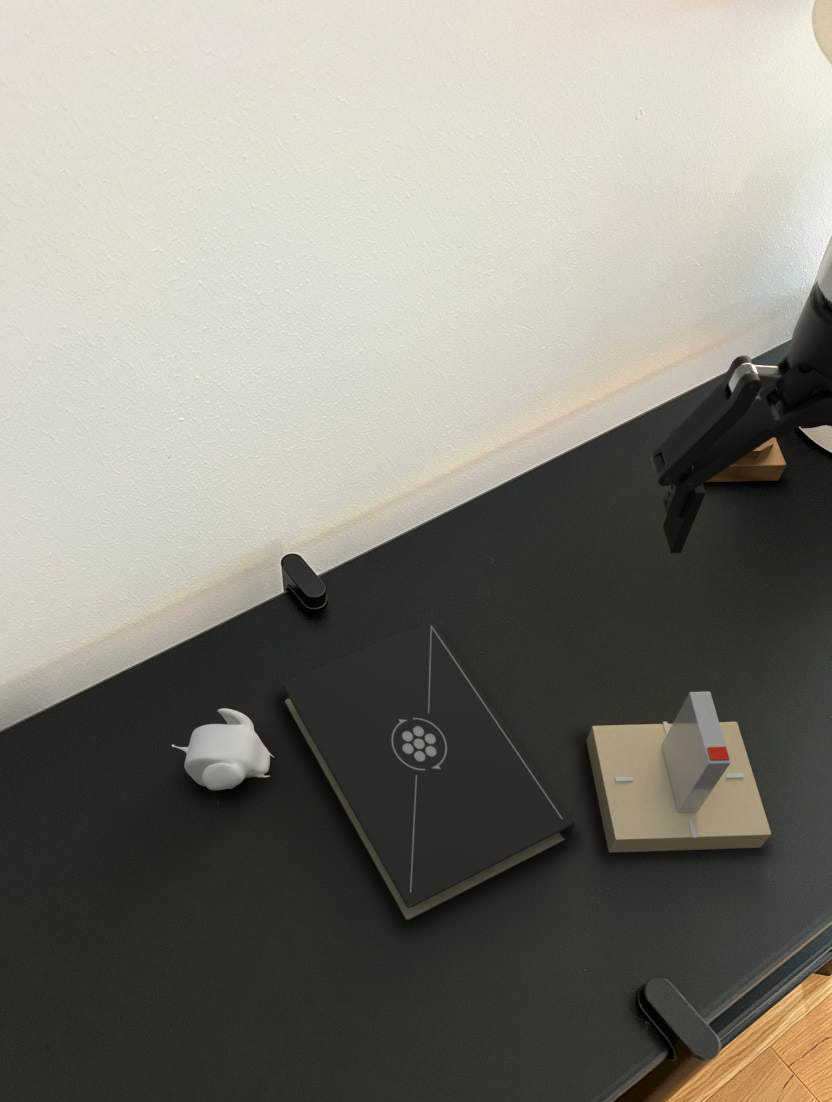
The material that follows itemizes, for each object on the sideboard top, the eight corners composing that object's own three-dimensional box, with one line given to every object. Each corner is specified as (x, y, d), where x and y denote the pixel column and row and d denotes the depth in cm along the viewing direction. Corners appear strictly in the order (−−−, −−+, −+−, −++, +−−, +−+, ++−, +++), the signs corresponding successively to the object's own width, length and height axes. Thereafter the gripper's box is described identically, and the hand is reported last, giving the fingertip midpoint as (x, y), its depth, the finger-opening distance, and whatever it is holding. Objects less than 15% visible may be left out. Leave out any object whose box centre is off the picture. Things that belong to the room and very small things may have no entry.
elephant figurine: (267, 815, 78) (262, 781, 73) (169, 805, 79) (157, 770, 74) (281, 742, 82) (277, 704, 77) (186, 732, 83) (177, 694, 78)
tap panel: (727, 735, 83) (737, 719, 80) (761, 849, 77) (773, 834, 75) (585, 739, 82) (592, 723, 80) (608, 854, 76) (616, 840, 74)
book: (571, 837, 77) (578, 821, 75) (406, 922, 73) (408, 908, 71) (433, 638, 88) (435, 618, 86) (283, 702, 84) (281, 683, 82)
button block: (759, 433, 104) (773, 403, 101) (778, 480, 100) (793, 451, 97) (685, 434, 104) (696, 405, 101) (701, 482, 100) (713, 453, 97)
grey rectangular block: (660, 744, 79) (690, 689, 72) (680, 744, 79) (711, 689, 73) (677, 812, 76) (709, 761, 69) (698, 812, 76) (732, 761, 69)
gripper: (687, 346, 56) (608, 581, 73) (1116, 330, 56) (937, 566, 74) (656, 267, 60) (588, 506, 77) (1055, 253, 61) (899, 493, 78)
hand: (758, 536), depth 76 cm, fingers open, 13 cm apart
